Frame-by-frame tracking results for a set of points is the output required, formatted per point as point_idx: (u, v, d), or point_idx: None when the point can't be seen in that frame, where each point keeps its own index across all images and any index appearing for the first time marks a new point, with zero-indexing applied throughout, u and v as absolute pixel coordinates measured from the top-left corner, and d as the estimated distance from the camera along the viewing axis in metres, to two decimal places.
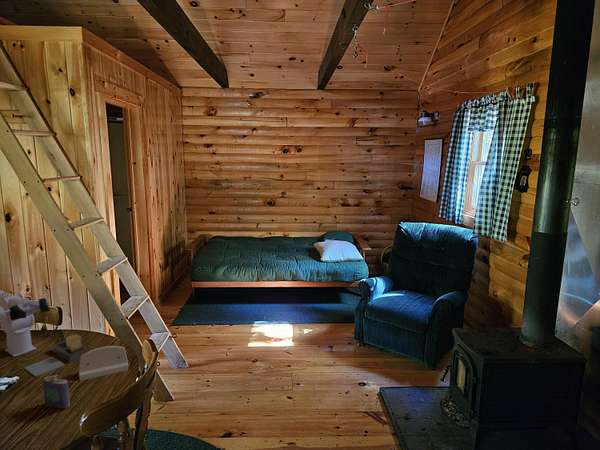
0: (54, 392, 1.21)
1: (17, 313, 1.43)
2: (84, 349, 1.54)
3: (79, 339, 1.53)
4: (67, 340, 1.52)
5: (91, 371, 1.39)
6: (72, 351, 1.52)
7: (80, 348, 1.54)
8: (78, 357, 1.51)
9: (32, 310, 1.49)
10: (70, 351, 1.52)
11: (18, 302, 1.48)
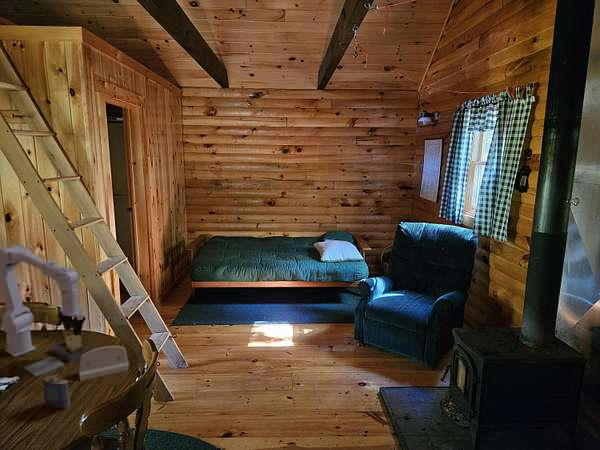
0: (54, 392, 1.21)
1: (76, 322, 1.49)
2: (84, 349, 1.54)
3: (79, 339, 1.53)
4: (67, 340, 1.52)
5: (91, 371, 1.39)
6: (72, 351, 1.52)
7: (80, 348, 1.54)
8: (78, 357, 1.51)
9: None
10: (70, 351, 1.52)
11: (78, 303, 1.52)
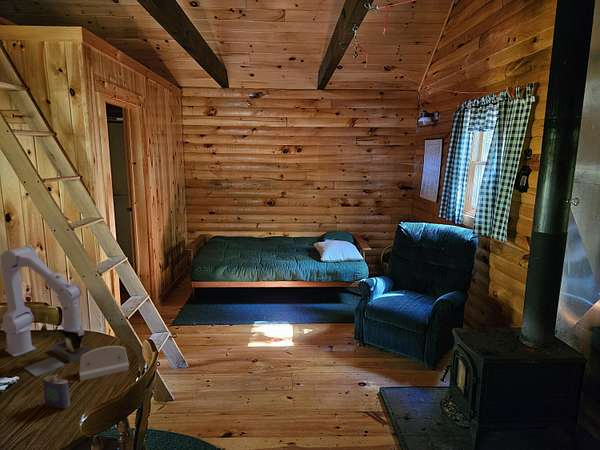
0: (54, 392, 1.21)
1: (76, 336, 1.51)
2: (84, 349, 1.54)
3: None
4: (67, 340, 1.52)
5: (91, 371, 1.39)
6: (72, 351, 1.52)
7: (80, 348, 1.54)
8: (78, 357, 1.51)
9: None
10: (70, 351, 1.52)
11: (79, 319, 1.53)
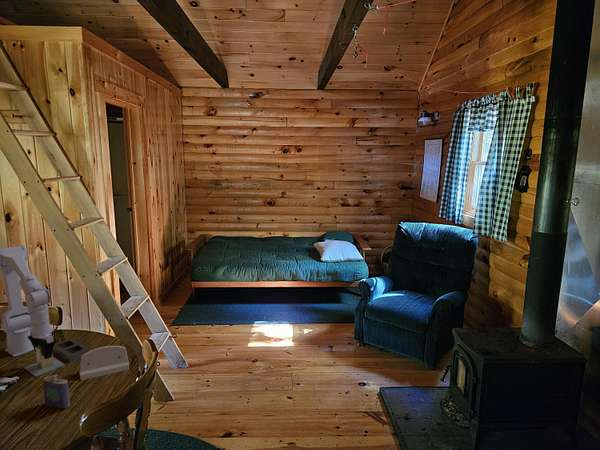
0: (54, 392, 1.21)
1: (46, 345, 1.41)
2: (84, 349, 1.54)
3: None
4: (37, 350, 1.43)
5: (92, 371, 1.40)
6: (43, 362, 1.43)
7: (51, 357, 1.45)
8: (78, 357, 1.51)
9: None
10: (40, 361, 1.43)
11: (49, 325, 1.44)
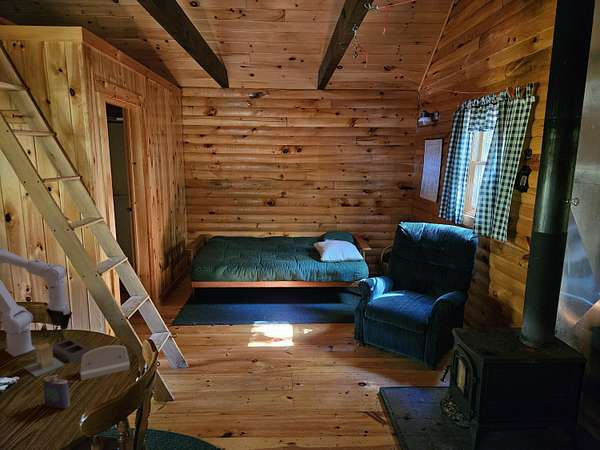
0: (54, 392, 1.21)
1: (63, 316, 1.53)
2: (84, 349, 1.54)
3: (50, 348, 1.44)
4: (37, 350, 1.43)
5: (92, 370, 1.40)
6: (43, 362, 1.43)
7: (51, 357, 1.45)
8: (78, 357, 1.51)
9: None
10: (40, 361, 1.43)
11: (65, 298, 1.56)
